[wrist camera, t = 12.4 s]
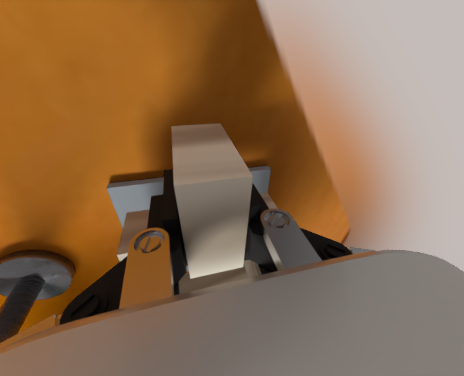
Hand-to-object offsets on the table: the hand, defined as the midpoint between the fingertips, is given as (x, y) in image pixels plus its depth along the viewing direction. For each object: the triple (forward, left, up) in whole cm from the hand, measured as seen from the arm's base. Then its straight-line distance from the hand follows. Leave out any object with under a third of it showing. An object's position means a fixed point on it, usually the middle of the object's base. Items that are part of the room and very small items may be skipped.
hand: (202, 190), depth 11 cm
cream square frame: (+4, 0, -1) cm, 4 cm away
